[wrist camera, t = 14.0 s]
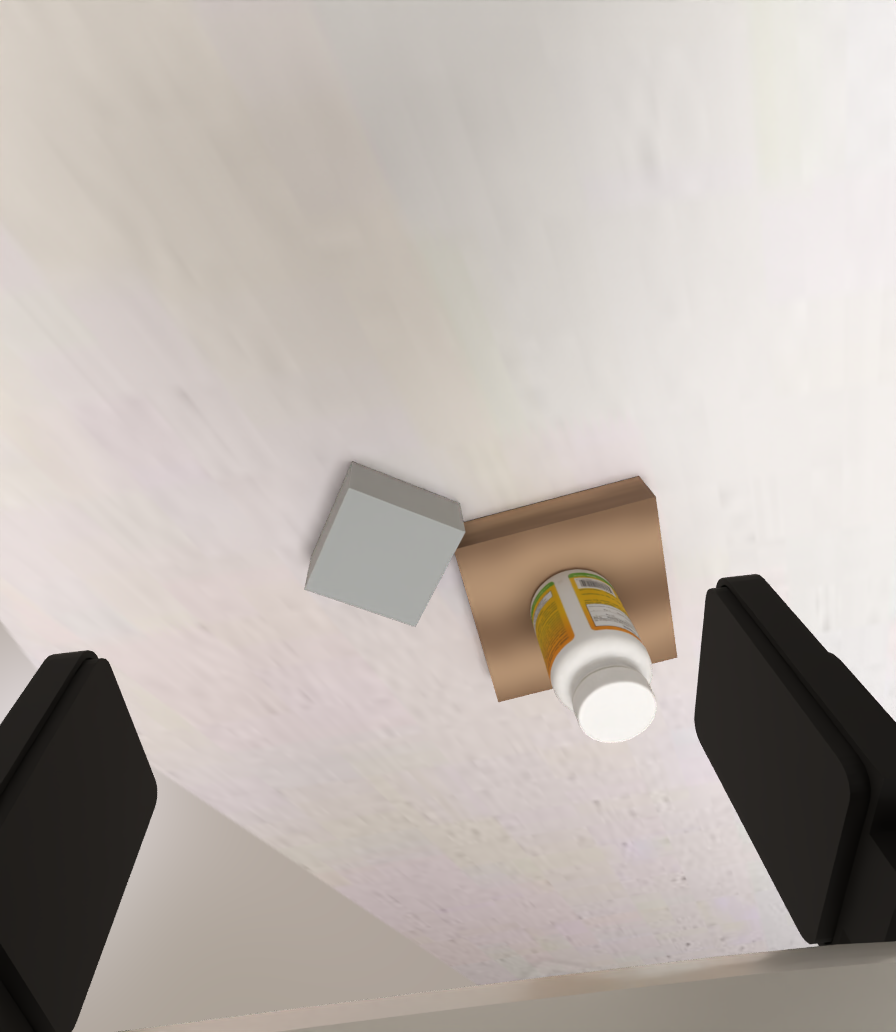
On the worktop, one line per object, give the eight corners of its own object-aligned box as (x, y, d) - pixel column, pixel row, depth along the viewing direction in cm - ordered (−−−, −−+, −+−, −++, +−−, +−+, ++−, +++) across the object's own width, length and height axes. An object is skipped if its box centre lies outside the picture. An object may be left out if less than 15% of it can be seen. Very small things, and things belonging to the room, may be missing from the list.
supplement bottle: (546, 652, 45) (583, 768, 36) (516, 587, 43) (548, 695, 34) (626, 620, 44) (683, 731, 36) (600, 553, 42) (655, 654, 33)
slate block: (352, 459, 42) (348, 487, 38) (459, 501, 43) (465, 532, 40) (311, 555, 44) (304, 589, 41) (413, 591, 46) (415, 627, 42)
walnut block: (449, 525, 44) (453, 549, 41) (639, 476, 43) (655, 496, 40) (492, 672, 49) (498, 702, 46) (661, 630, 49) (677, 657, 46)
